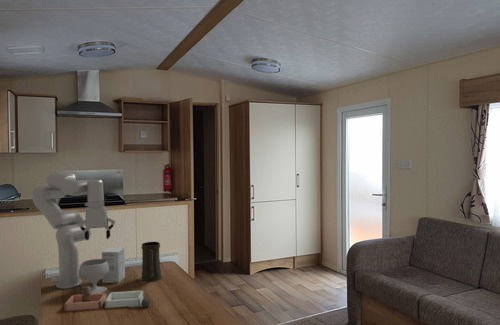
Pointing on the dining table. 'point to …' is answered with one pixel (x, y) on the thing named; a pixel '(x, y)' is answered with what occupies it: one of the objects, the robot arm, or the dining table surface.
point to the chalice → (94, 273)
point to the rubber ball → (145, 302)
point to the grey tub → (124, 299)
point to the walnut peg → (86, 294)
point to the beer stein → (150, 261)
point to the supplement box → (114, 265)
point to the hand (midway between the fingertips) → (97, 239)
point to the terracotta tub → (77, 303)
